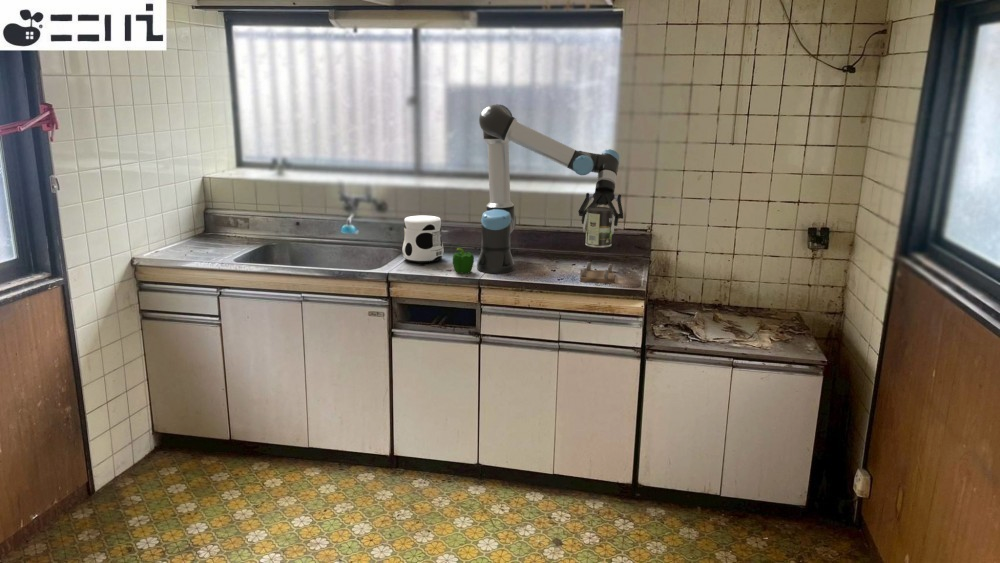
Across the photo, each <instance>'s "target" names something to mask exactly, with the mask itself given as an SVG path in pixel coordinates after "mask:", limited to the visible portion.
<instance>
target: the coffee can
mask: <svg viewBox="0 0 1000 563" xmlns="http://www.w3.org/2000/svg"><path fill="white" fill-rule="evenodd" d="M585 210H586V211H587V218H586V232H585V246H587V247H590V248H596V249H597V248H600V249H602V248H609V247H611V246H612V244H613V241H612V240H613V234H611V226H612V219H613V216H614V215H613V211H614V209H612V208H609V206H607V207H605V206H597V207H589V208H587V207H586V209H585Z"/></svg>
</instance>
